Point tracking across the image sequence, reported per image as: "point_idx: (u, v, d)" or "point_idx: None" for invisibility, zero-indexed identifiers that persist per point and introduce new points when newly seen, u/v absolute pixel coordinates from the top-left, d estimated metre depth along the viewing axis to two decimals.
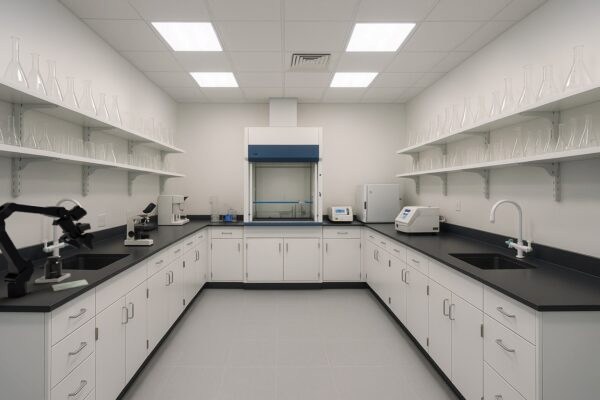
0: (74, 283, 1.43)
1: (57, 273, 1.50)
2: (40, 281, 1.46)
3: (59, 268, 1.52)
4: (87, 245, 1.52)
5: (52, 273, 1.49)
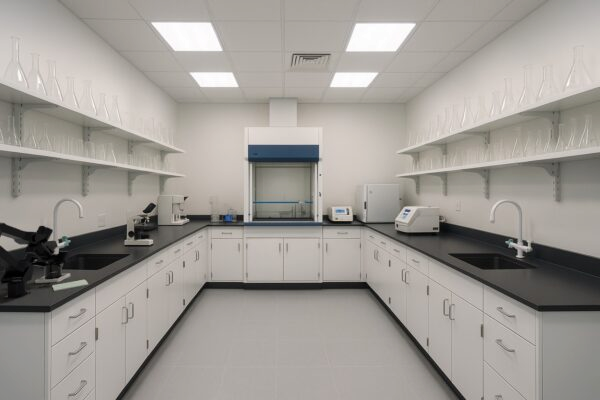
0: (74, 283, 1.43)
1: (57, 273, 1.50)
2: (40, 281, 1.46)
3: (59, 268, 1.52)
4: (60, 263, 1.50)
5: (52, 273, 1.49)
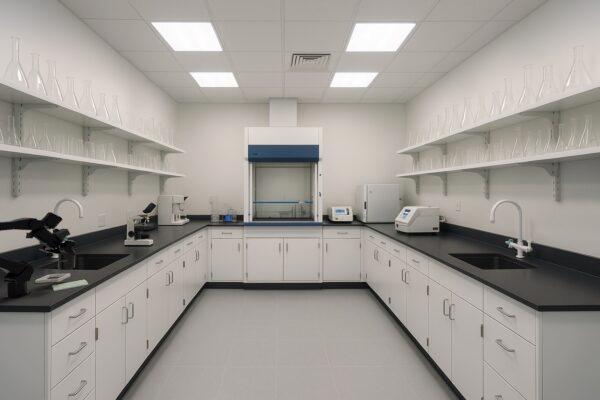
0: (74, 283, 1.43)
1: (67, 262, 1.46)
2: (40, 281, 1.46)
3: (70, 257, 1.47)
4: (68, 253, 1.44)
5: (61, 261, 1.45)
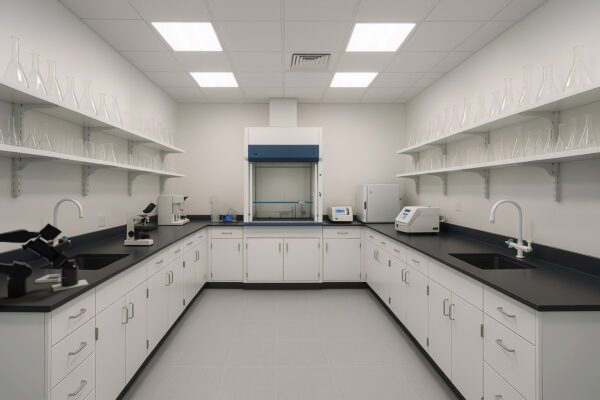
0: None
1: (66, 279, 1.38)
2: (40, 281, 1.46)
3: (68, 274, 1.38)
4: (64, 267, 1.35)
5: (61, 278, 1.38)
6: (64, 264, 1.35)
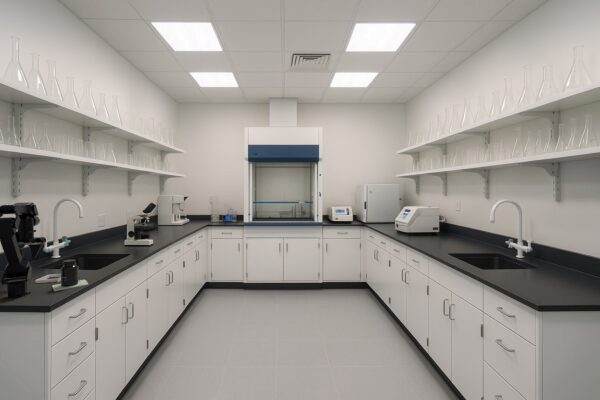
0: None
1: (65, 279, 1.38)
2: (40, 281, 1.46)
3: (68, 274, 1.38)
4: None
5: (61, 278, 1.38)
6: None
